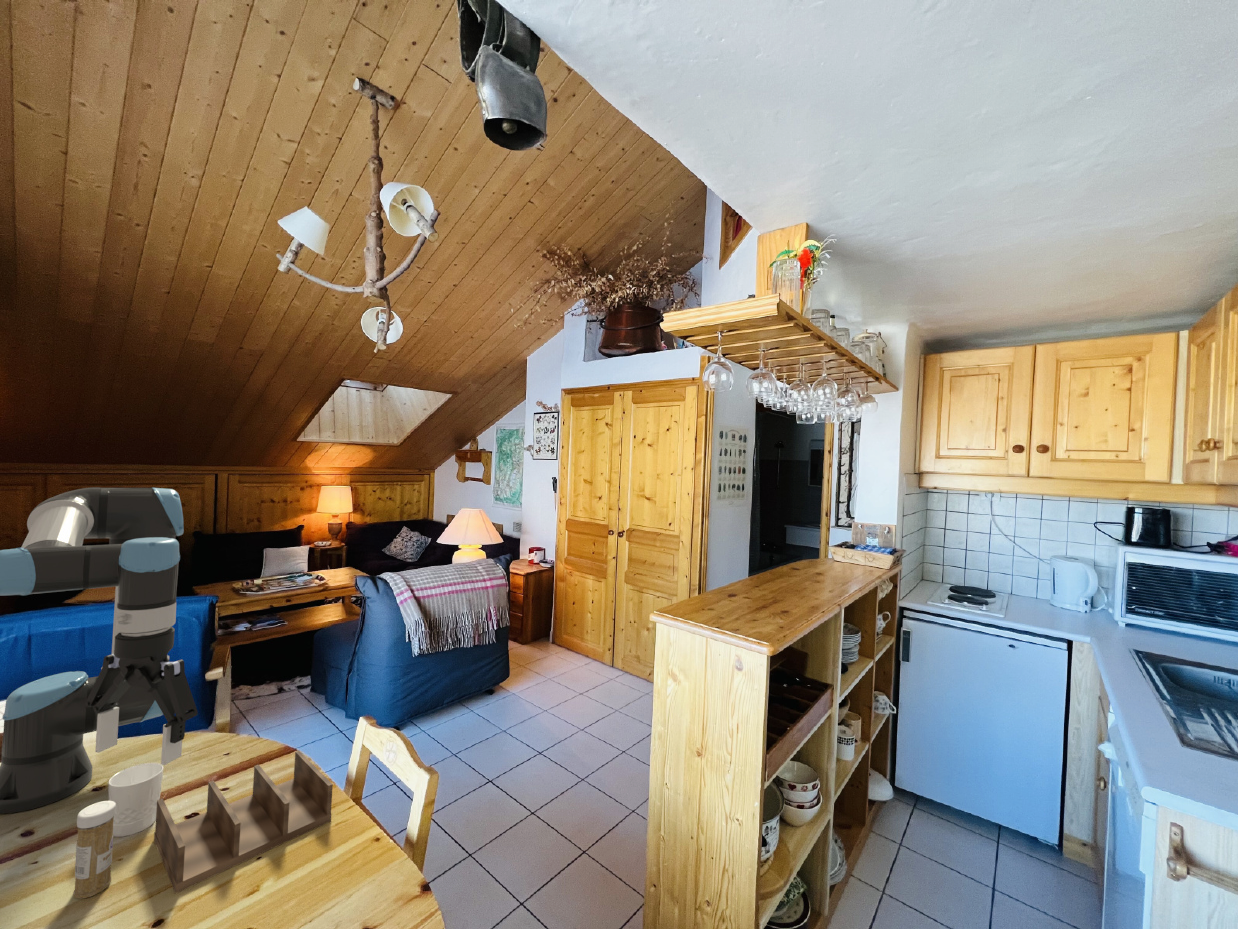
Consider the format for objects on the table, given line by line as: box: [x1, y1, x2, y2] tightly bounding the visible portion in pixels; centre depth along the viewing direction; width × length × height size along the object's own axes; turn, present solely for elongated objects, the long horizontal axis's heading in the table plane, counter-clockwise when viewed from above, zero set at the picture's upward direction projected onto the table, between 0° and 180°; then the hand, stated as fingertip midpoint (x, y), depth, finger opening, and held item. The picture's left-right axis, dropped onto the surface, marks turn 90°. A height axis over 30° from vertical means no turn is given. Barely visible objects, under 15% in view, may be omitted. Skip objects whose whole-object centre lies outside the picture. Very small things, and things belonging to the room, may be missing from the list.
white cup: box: [107, 762, 164, 837], centre depth 101 cm, size 8×8×10 cm
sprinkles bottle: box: [72, 800, 116, 899], centre depth 86 cm, size 5×5×14 cm
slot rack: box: [153, 750, 334, 895], centre depth 101 cm, size 18×24×8 cm
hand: (138, 754), depth 87 cm, fingers open, 13 cm apart
